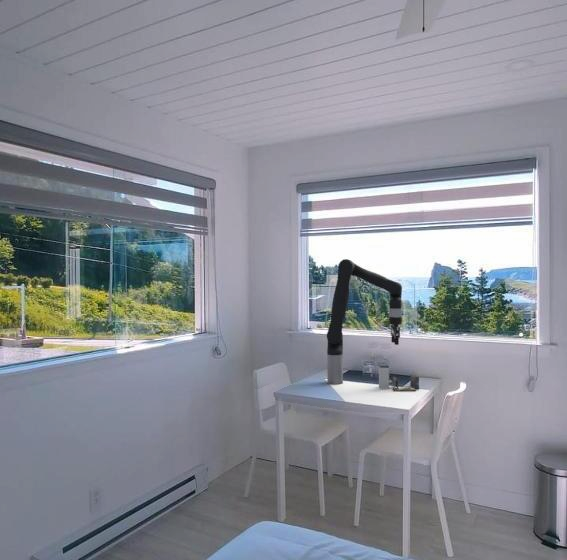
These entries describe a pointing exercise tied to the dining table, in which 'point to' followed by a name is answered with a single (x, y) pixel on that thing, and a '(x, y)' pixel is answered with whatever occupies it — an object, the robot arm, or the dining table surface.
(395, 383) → the gauge plunger
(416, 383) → the test stand
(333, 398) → the dining table surface
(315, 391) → the dining table surface
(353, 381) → the dining table surface
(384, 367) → the force gauge
